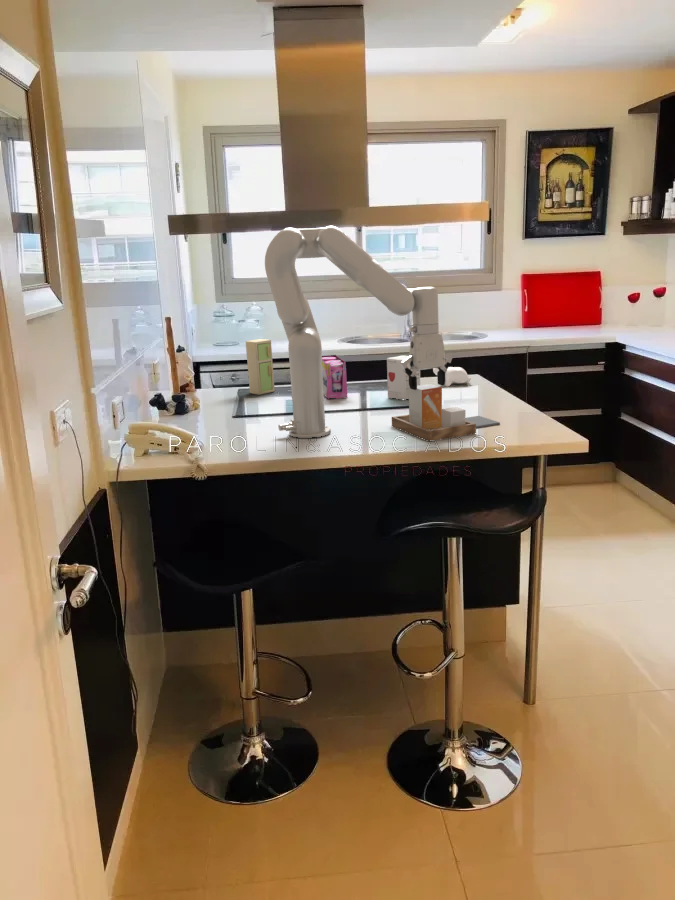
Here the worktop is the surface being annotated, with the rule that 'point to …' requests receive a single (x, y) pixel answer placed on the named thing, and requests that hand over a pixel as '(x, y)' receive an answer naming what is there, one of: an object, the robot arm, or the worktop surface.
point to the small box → (426, 406)
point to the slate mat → (482, 421)
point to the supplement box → (398, 378)
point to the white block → (453, 417)
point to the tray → (435, 434)
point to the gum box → (334, 377)
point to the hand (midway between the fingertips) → (427, 387)
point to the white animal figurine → (454, 375)
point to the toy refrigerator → (260, 366)
